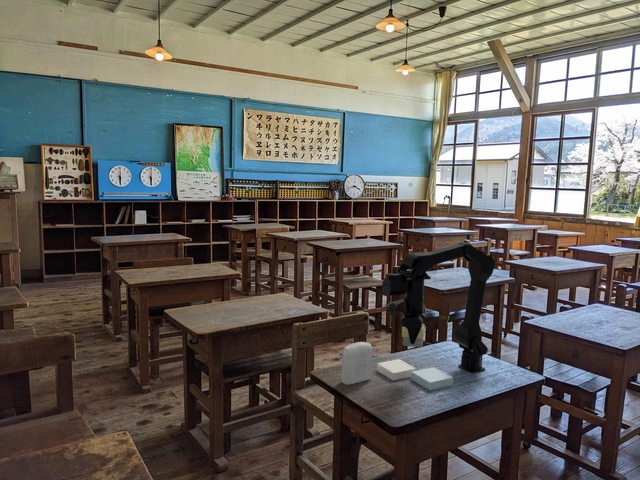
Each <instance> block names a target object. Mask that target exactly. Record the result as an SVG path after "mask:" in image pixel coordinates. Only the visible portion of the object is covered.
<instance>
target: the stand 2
mask: <svg viewBox="0 0 640 480" xmlns="http://www.w3.org/2000/svg"><path fill="white" fill-rule="evenodd" d="M410 380H412V381H413V382H415V383H416V384H418V385H420V386H421V387H424V388H425V389H427V390H428V391H433V390H437V389H442V388H447V387H449V386H453V383H454V382H453V376H451V375H449V374H447V373H445V372H444V371H442V370H440V369H438V368H436V367H435V366H432V367H428V368H423V369H418V370H416V371H413V372H411V377H410Z"/></svg>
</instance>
